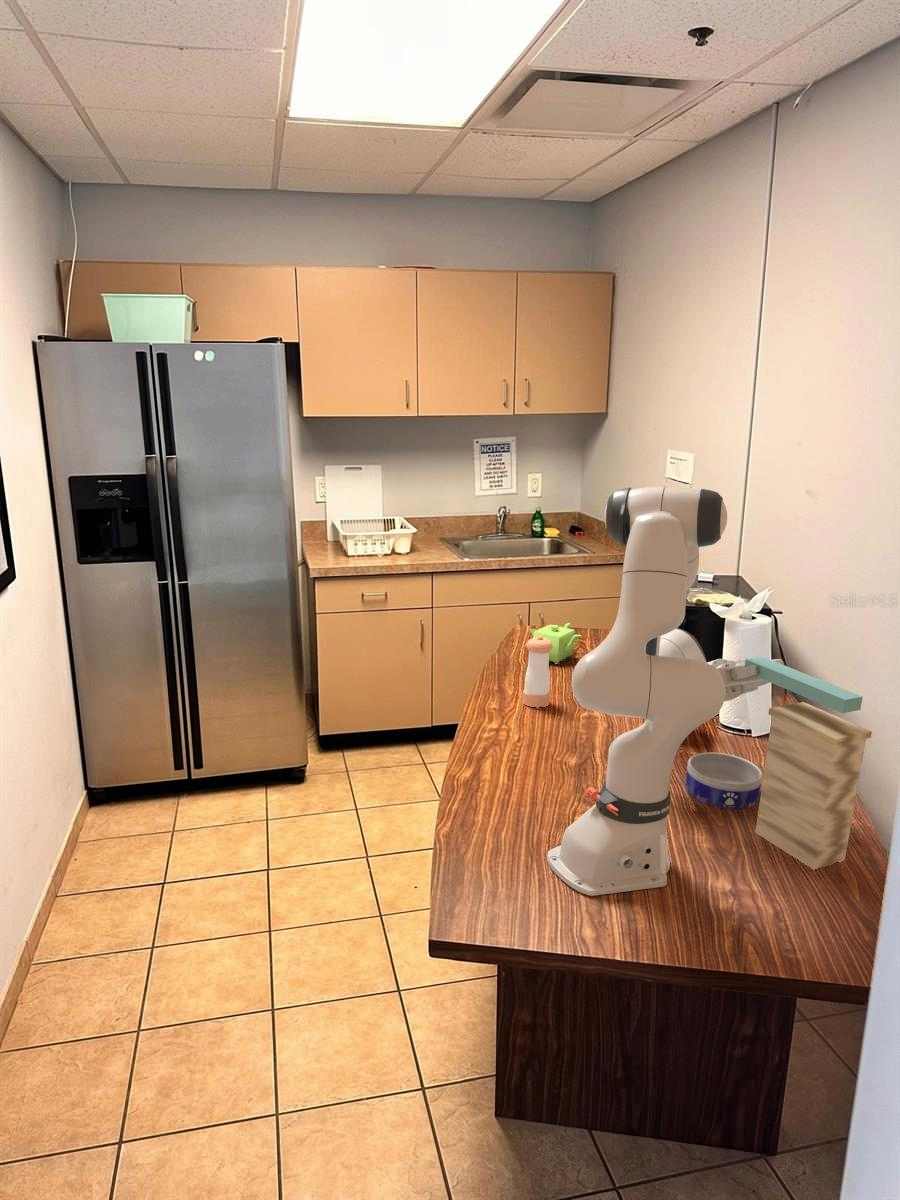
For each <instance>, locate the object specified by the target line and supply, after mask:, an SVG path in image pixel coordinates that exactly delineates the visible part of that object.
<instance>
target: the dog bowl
mask: <svg viewBox="0 0 900 1200" xmlns="http://www.w3.org/2000/svg"><path fill="white" fill-rule="evenodd" d="M686 767H687V768H686V776H685V777H686V778H685V788H686V791H687V793H688V794H689V795H690V796H692V797H693V798H694V799H695V800H698V801H700V802H701V803H704V804H706V805H708V804H709V806H712V807H715V806H716V807H715V808H719V807H720V809H724V808H726V809H727V810H744V809H748V808H751V807H753V806H755V805H756V804H757V803H758V801H759V797H760V795H761V790H762V783H763V772H762V771H761V769H760V767H758V766H757V765H756V764H754V763H753V762H751V761H749V760H747V759H745V758H743V757H741V756H736V755H733V754H729V753H722V752H713V751H711V752H710V751H709V752H700V753H696V754H693V755H691V757H690V756H689V758H688V760H687V766H686ZM726 809H725V810H726Z"/></svg>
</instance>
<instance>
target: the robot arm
mask: <svg viewBox="0 0 900 1200" xmlns="http://www.w3.org/2000/svg"><path fill="white" fill-rule="evenodd" d="M603 512H604V513H603V520H604V525H605V529H606V532H607V535H608V536H609V537H610V539H612V540H613V542H616V543H618V544H620V546H622V547H624V548H625V553H624V558H623V559H624V560H623V565H622V576H621V577H622V579H621V590H620V597H619V603H618V610H617V611H618V612H617V614H616V619H615V621H614V624H613V626H612V628H611V630H610V631H609V633H608V635H607V636H606V637H605V638H604V639H603V640H602V642H601V643H600V644H599V645H597V646H596V647H595V648H593V649H592V650H591V651H590V652H588V653H586V654H585V655H583V656H582V657H581V658H580V659H579V660H578V662H577V663H576V665H575V667H574V669H573V672H572V675H571V690H572V693H573V695H574V698H575V700H576V702H577V703H578V705H579V706H580V707H581V708H583V709H586V710H588V711H592V712H596V713H600V714H603V715H607V716H608V715H609V716H618V717H627V718H628V717H629V718H636V719H637V718H639V719H645V722H643V723H642V724H641V725H640V726H638V727H636V728H634V729H631V730H628V731H625V732H623V733H622V734H620V735H618V736H617V737H616V738H614V740H613V741H612V743H611V744H610V745H609V748H608V754H607V765H606V776H605V781H604V782H603V784H602V786H601V788H600V791H598V790H596V789H595V788H594V787H592V786H590V787H588V788H587V789H586V790H585V793H584V794H585V796H586V798H588V799H590V800H591V802H595V803H594V805H593V806H591V807H590V808H589V809H588V810H587V811H585V812H584V813H583V814H582V815H580V817H578V818H577V819H576V820H575V821H573V822H572V823H571V824H570V825H569V826H567V828H566V829H565V830H564V832H563V836H562V839H561V843H560V845H558V846H556V847H554V848H551V849H549V850H548V851H547V853H546V860H547V864H548V866H549V867H550V869H551V870H552V871H553V873H554V874H555V875H556V876H557V877H558V878H559V879H560V880H562V881H563V882H564V883H565V884H566V885H567V886H569V887H571V888H572V889H574V890H576V891H577V892H578V893H582V894H584V895H587V896H589V897H593V896H602V895H609V894H617V893H622V892H623V893H624V892H631V891H639V890H647V889H655V888H662V887H666V886H667V885H668V877H667V873H668V872H669V871H670V868H671V861H670V856H669V852H668V851H669V850H668V839H667V817H668V815H669V814H670V808H671V797H672V794H671V790H670V784H671V778H672V777H671V776H672V772H673V766H674V761H675V757H676V755H677V753H678V750H679V748H680V747H681V745H682V744H683V743H684V740H685V739H686V738H687V737H689V735H690V734H691V733H692V732H693V731H694V730H696V729H697V728H698V727H700V726H702V725H703V724H705V723H707V722H709V721H711V720H713V719H714V718H715V717H716V716H717V715H718V713H719V712H720V711H721V709H722V708H723V705H724V703H725V702H728V701H732V700H734V699H736V698H738V697H740V696H742V695H744V694H747V693H749V692H754V691H757V690H758V689H759V687H761V686H764V685H767V684H769V683H770V684H771V682H768V681H766V680H764V679H761V678H759V677H757V676H754V675H757V674H759V673H760V670H759V666H758V665H753V666H749V667H745V660H731V659H726V658H717V659H715V660H711V661H708V662H707V658H706V656H705V653H704V651H703V648H702V646H701V645H700V643H699V641H698V640H697V638H696V637H695V636H694V635H692V634H691V633H690V632H688V631H686V630H685V629H681V628H679V627H680V626H681V625H682V624H683V622H684V620H685V616H686V602H687V592H688V591H689V590H690V589H691V588H692V587H693V585H694V583H695V582H696V579H697V577H698V571H699V567H700V548H702V547H703V548H705V547H708V546H712V545H715V544H716V543H717V542H719V541H720V540H721V538H722V535H723V534H724V532H725V530H726V527H727V524H728V511H727V506H726V504H725V502H724V498H723V496H721V495H720V493H718V491H715V490H710V489H706V488H701V489H699V490H698V489H691V488H682V487H666V486H649V487H647V486H646V487H638V488H631V487H625V488H621V489H617V490H614V491H613V492H612V493H611V494H610V495H609V497H608V499H607V503H606V505H605V509H604V511H603ZM771 660H772V661H774V662H777V663H779V664H782V665H785V663H784V661H783V659H782V658H775V659H771Z"/></svg>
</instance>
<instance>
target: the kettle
mask: <svg viewBox="0 0 900 1200" xmlns="http://www.w3.org/2000/svg"><path fill="white" fill-rule="evenodd" d="M570 625H571V623H570V622H568V623H565V624H564V626H559V625H557V624H547V625H545V626H543V627H541V628H539V629H535V628H532V629H530V630H529V632H530V633H531V636H532V638H536V637H538V636H542V637H543V638H545V639H548V640H550V641H551V643H552V645H553V648H552V650H551V652H549V662H554V663H559V664H560V662H561V661H564V660H563V659H566V658H567V659H568V658H569V657H571V656H572V655H574V647H575V643H576V640H577V639H578V638H580V637H582V636H583V635H581V634H575V633H576V630H575V629H572V628H569V627H570Z"/></svg>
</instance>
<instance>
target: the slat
mask: <svg viewBox="0 0 900 1200" xmlns="http://www.w3.org/2000/svg"><path fill="white" fill-rule="evenodd" d="M772 660H773V659H770V658H766V657H764V656H759V657H752V658H746V659H745V660H744V661H745V667H749V666H753V665H758V666H759V670H760V673H759V674H757V675H754V676H757V677H759V678H761V679H764V680H766V681H768V682H770V684H773V685H775V686H778V687H781V688H783V689H785V690H788V692H789V691H790V692H792V693H794V694H797V695H798V696H801V697H804V698H806V699H808V700H811V701H813V702H816V703H817V704H820V705H823V706H824V707H827V708H829V709H831V710H834V711H837V712H838V713H841V714H846V713H851V712H856V711H861V709H862V704H863V697H864V696H863V695H861V694H857V693H856V692H852V691H851V690H850V691H849V690H847V689H845V688H843V687H840V686H837V685H835V684H832V683H830V682H827V681H825V680H822V679H820V678H817V677H814V676H811V675H809V674H808V673H807V674H806V673H804V672H802V671H799V670H797V669H794V668H792V667H789V666H787V665H785V664H784V665H782V664H779V663H777V662H774V661H772Z"/></svg>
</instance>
